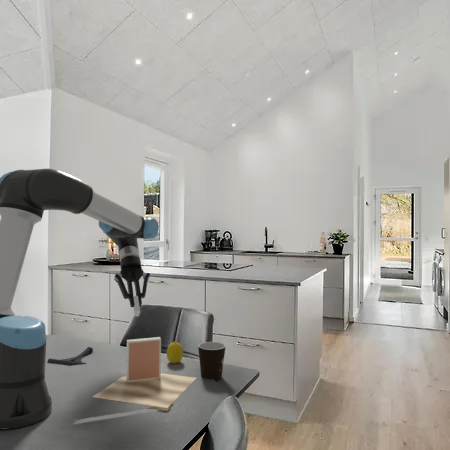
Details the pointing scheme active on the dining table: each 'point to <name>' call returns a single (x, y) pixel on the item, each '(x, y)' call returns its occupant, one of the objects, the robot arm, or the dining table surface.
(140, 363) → the tile
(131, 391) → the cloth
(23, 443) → the dining table surface
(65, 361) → the dark grey forked piece
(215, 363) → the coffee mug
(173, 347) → the lemon
